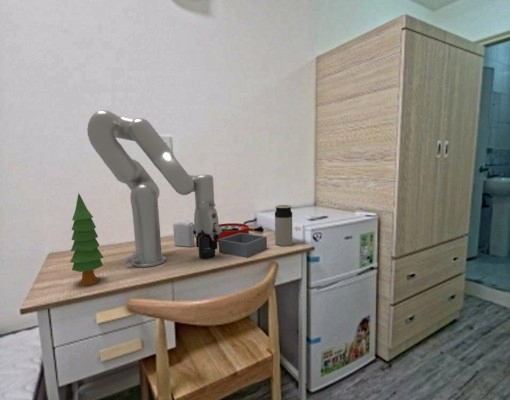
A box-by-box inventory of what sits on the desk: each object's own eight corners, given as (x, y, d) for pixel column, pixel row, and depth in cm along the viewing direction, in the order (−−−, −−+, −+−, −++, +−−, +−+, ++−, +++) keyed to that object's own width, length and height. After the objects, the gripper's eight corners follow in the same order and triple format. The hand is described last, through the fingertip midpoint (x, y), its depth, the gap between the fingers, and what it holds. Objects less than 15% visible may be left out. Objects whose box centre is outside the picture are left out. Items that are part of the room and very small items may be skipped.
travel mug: (291, 246, 136) (291, 207, 133) (274, 246, 137) (273, 207, 135) (293, 242, 143) (292, 204, 141) (276, 241, 145) (275, 204, 143)
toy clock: (253, 229, 148) (213, 233, 142) (254, 240, 149) (213, 245, 143) (242, 222, 167) (206, 225, 161) (243, 232, 167) (207, 235, 161)
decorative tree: (71, 289, 94) (61, 194, 91) (74, 279, 103) (65, 191, 99) (105, 283, 98) (97, 192, 95) (106, 274, 107) (98, 190, 103)
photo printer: (173, 245, 143) (171, 220, 141) (179, 243, 146) (177, 218, 145) (190, 247, 138) (188, 221, 136) (196, 245, 142) (194, 219, 140)
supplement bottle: (208, 260, 119) (206, 230, 118) (195, 258, 123) (193, 229, 121) (219, 255, 125) (217, 227, 123) (206, 253, 128) (205, 226, 127)
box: (246, 257, 121) (245, 244, 121) (218, 252, 130) (218, 239, 129) (266, 248, 133) (266, 236, 133) (240, 244, 142) (240, 232, 141)
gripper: (227, 205, 119) (229, 248, 121) (196, 203, 129) (198, 243, 131) (214, 208, 113) (216, 253, 115) (183, 205, 123) (185, 247, 125)
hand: (206, 247), depth 123 cm, fingers open, 7 cm apart
